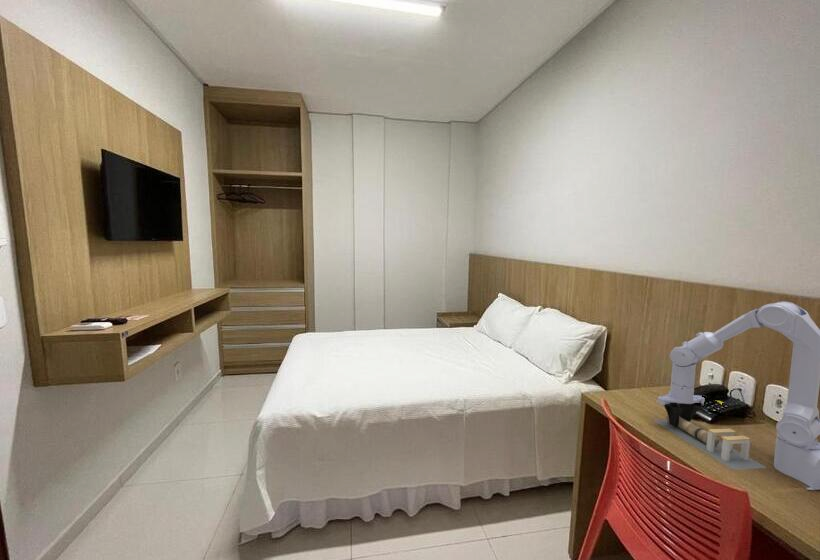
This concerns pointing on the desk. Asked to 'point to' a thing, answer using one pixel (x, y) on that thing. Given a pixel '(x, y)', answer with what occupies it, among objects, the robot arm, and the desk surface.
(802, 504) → the desk surface
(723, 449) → the peg gate board
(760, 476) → the desk surface
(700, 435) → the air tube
